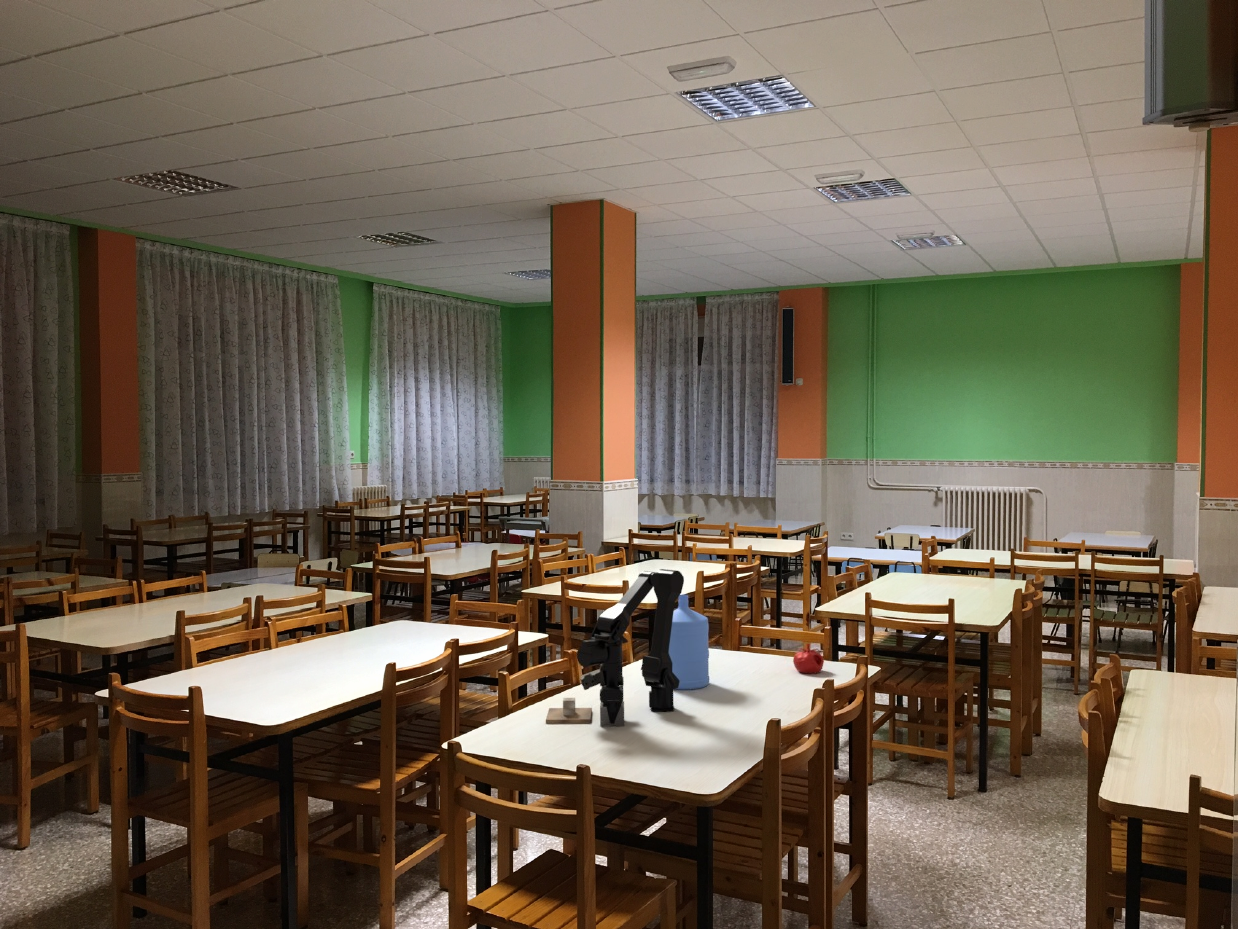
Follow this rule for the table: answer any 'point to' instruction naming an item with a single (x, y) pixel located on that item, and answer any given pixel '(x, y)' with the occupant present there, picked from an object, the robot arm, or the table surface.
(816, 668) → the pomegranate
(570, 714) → the post block
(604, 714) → the grey cube shelf
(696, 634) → the water jug
